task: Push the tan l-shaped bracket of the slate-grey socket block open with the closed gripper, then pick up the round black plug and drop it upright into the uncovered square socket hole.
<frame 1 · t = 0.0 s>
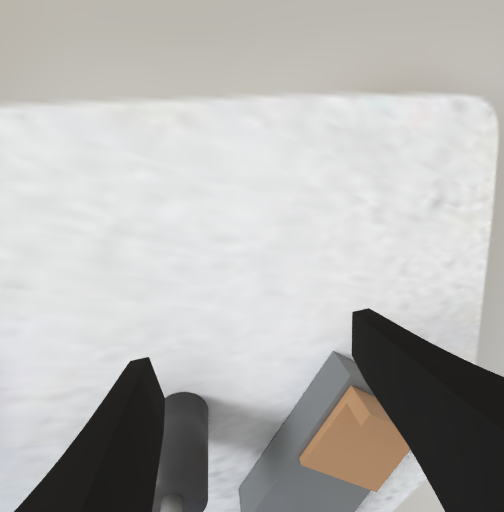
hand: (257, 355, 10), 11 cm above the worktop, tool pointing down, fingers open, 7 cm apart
tan l-shaped bracket: (371, 453, 21), point 4 cm above the worktop, slide at 0.0 cm
plug: (182, 413, 23), on the worktop
socket block: (321, 438, 25), on the worktop
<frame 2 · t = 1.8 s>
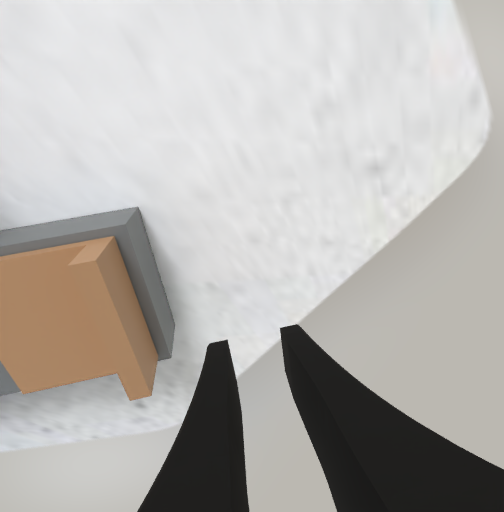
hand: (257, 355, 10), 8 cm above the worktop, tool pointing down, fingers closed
tan l-shaped bracket: (56, 334, 13), point 4 cm above the worktop, slide at 0.0 cm
socket block: (26, 297, 17), on the worktop
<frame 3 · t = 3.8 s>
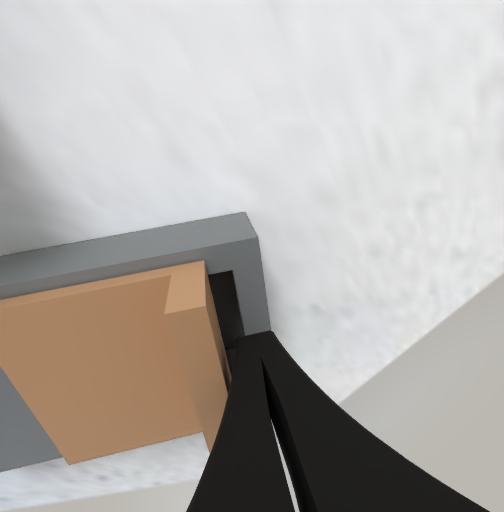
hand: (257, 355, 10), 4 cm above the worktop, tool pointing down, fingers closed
tan l-shaped bracket: (123, 395, 9), point 4 cm above the worktop, slide at 1.3 cm, touching gripper
socket block: (95, 325, 13), on the worktop
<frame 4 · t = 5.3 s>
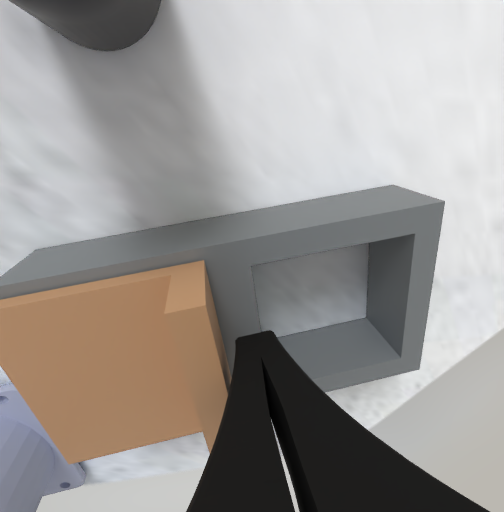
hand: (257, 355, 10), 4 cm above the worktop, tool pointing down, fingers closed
tan l-shaped bracket: (123, 395, 9), point 4 cm above the worktop, slide at 7.9 cm, touching gripper
socket block: (239, 295, 14), on the worktop
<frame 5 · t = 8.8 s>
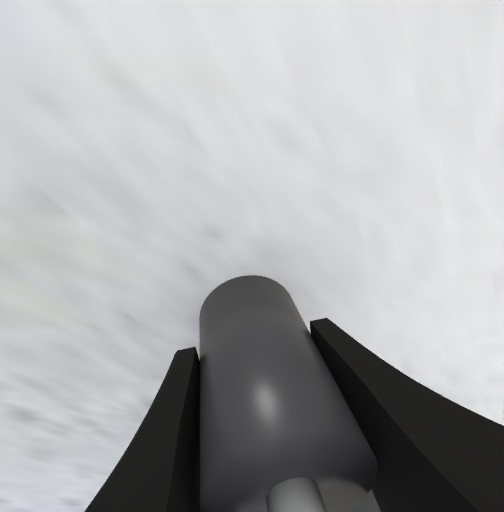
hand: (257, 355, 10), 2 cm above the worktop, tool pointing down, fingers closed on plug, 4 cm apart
plug: (247, 317, 12), on the worktop, touching gripper
socket block: (316, 468, 18), on the worktop
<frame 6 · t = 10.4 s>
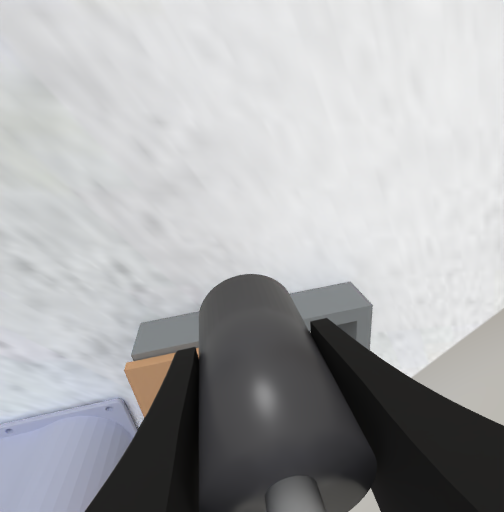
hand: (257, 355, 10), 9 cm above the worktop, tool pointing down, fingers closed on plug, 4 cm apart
tan l-shaped bracket: (196, 410, 18), point 4 cm above the worktop, slide at 8.0 cm
plug: (247, 316, 12), point 7 cm above the worktop, touching gripper
socket block: (255, 345, 22), on the worktop
when the fingers open (4 cm above the worktop, at t = 12.3 s): plug drops 2 cm, resting in socket block.
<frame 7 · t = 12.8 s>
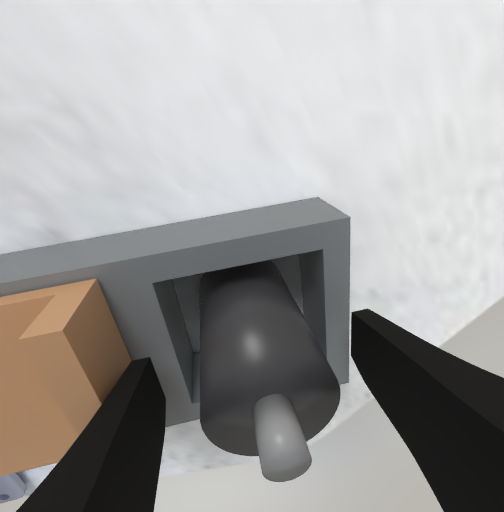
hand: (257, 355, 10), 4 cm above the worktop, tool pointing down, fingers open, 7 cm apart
tan l-shaped bracket: (15, 415, 9), point 4 cm above the worktop, slide at 8.0 cm, touching gripper
plug: (241, 290, 14), resting in socket block
socket block: (168, 308, 14), on the worktop
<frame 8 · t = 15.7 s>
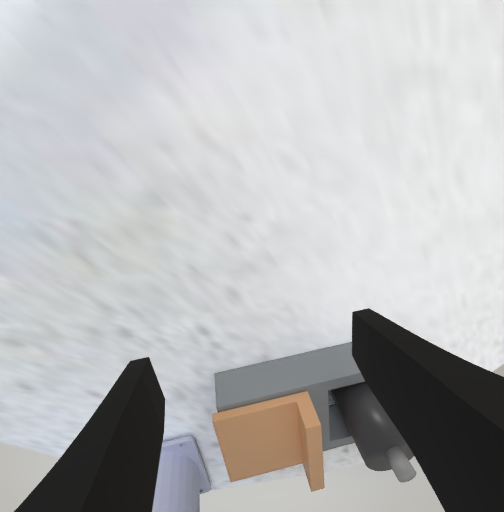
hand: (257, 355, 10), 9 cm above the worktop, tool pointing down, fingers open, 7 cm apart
tan l-shaped bracket: (270, 452, 21), point 4 cm above the worktop, slide at 8.0 cm
plug: (348, 376, 25), resting in socket block
socket block: (309, 387, 25), on the worktop
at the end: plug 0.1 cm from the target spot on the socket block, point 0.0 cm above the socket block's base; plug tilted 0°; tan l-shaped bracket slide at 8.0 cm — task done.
